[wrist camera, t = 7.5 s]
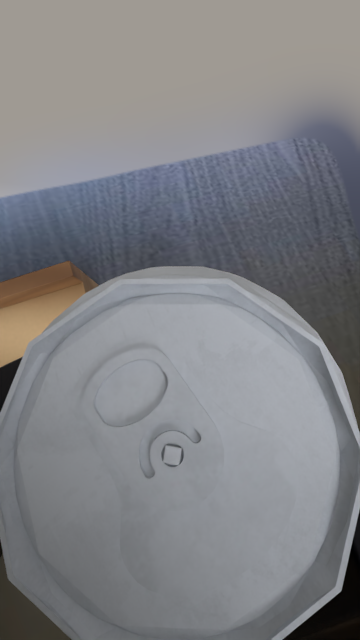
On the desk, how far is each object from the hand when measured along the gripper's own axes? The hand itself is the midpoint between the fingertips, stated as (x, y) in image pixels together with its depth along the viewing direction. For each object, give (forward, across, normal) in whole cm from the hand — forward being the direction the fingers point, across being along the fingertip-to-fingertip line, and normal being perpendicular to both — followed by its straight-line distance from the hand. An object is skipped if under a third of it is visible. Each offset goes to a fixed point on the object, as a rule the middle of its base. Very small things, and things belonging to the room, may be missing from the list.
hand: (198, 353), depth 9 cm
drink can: (+4, 0, +6) cm, 7 cm away
